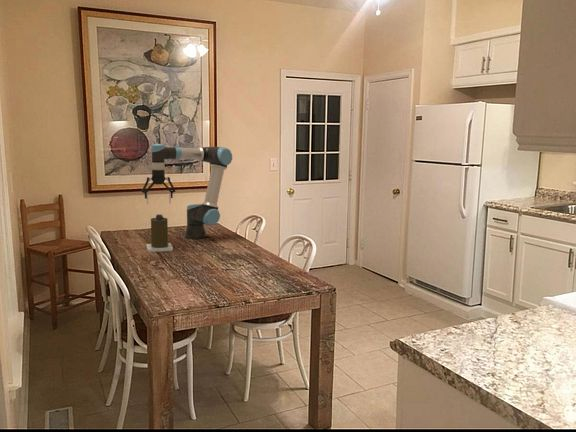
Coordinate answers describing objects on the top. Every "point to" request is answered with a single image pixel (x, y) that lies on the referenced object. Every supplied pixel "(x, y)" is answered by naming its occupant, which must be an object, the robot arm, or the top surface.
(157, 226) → the canister
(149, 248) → the trivet
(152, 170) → the robot arm
